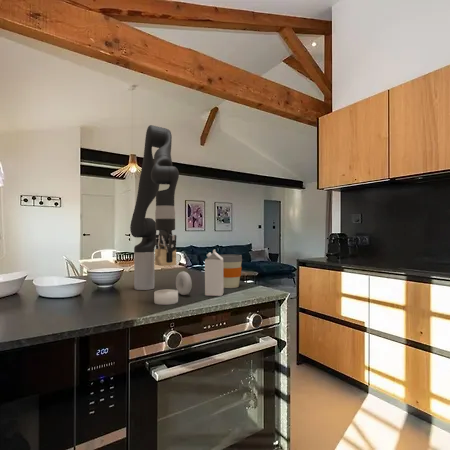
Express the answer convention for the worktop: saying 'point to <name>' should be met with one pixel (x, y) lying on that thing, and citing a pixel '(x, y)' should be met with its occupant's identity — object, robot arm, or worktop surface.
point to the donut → (187, 285)
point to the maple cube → (164, 257)
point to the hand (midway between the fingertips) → (165, 261)
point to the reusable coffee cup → (231, 270)
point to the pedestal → (165, 297)
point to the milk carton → (214, 275)
